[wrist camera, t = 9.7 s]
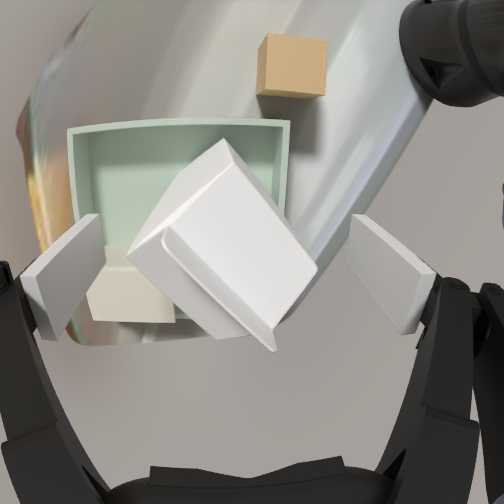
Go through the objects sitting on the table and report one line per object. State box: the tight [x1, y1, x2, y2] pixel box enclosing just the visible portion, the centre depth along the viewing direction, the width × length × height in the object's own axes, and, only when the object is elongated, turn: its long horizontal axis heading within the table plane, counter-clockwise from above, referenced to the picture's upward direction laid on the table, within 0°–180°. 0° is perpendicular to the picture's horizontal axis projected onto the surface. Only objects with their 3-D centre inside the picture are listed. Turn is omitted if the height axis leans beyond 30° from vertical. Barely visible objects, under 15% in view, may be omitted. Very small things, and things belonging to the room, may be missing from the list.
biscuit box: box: [256, 33, 327, 99], centre depth 24 cm, size 5×5×6 cm
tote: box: [67, 117, 290, 319], centre depth 29 cm, size 20×20×4 cm
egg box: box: [86, 244, 176, 323], centre depth 29 cm, size 9×6×7 cm, turn 88°
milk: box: [125, 137, 318, 353], centre depth 20 cm, size 6×6×22 cm
